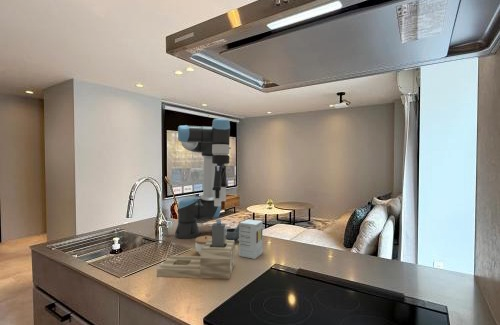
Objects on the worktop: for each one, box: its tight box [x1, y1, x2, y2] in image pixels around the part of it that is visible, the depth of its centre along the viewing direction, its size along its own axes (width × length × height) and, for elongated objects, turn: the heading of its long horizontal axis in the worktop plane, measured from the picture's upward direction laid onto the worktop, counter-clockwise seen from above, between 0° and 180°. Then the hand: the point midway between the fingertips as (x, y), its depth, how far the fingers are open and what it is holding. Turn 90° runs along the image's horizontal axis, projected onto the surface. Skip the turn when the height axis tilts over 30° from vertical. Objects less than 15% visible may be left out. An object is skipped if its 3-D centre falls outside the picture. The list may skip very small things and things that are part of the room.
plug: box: [211, 219, 228, 248], centre depth 111 cm, size 4×6×14 cm
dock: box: [156, 239, 235, 280], centre depth 112 cm, size 15×30×11 cm, turn 87°
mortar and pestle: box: [225, 221, 241, 245], centre depth 150 cm, size 11×9×12 cm
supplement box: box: [238, 219, 264, 260], centre depth 130 cm, size 10×9×17 cm
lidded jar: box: [194, 235, 212, 256], centre depth 131 cm, size 11×11×9 cm
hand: (220, 203), depth 112 cm, fingers open, 13 cm apart
